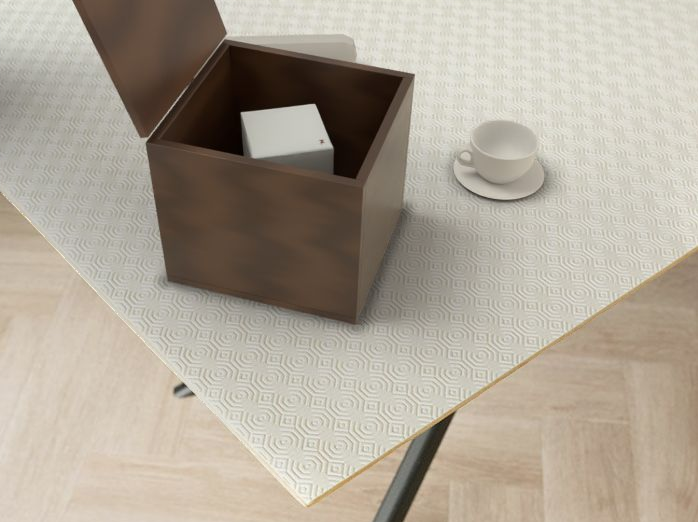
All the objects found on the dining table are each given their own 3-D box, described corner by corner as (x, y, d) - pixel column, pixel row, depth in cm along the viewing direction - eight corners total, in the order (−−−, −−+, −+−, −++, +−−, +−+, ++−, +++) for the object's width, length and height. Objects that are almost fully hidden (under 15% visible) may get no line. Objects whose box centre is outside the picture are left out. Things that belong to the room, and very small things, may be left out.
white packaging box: (317, 208, 94) (318, 101, 84) (333, 255, 89) (335, 147, 80) (246, 217, 93) (239, 109, 83) (258, 265, 88) (252, 157, 78)
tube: (354, 27, 113) (149, 32, 110) (360, 35, 108) (146, 40, 105) (354, 71, 115) (153, 77, 113) (359, 81, 111) (151, 87, 108)
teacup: (529, 145, 104) (537, 109, 101) (554, 200, 97) (563, 164, 94) (444, 150, 103) (448, 114, 99) (463, 206, 96) (469, 170, 93)
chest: (402, 208, 96) (415, 73, 84) (355, 325, 84) (363, 187, 72) (234, 173, 99) (224, 38, 87) (167, 281, 87) (144, 142, 75)
